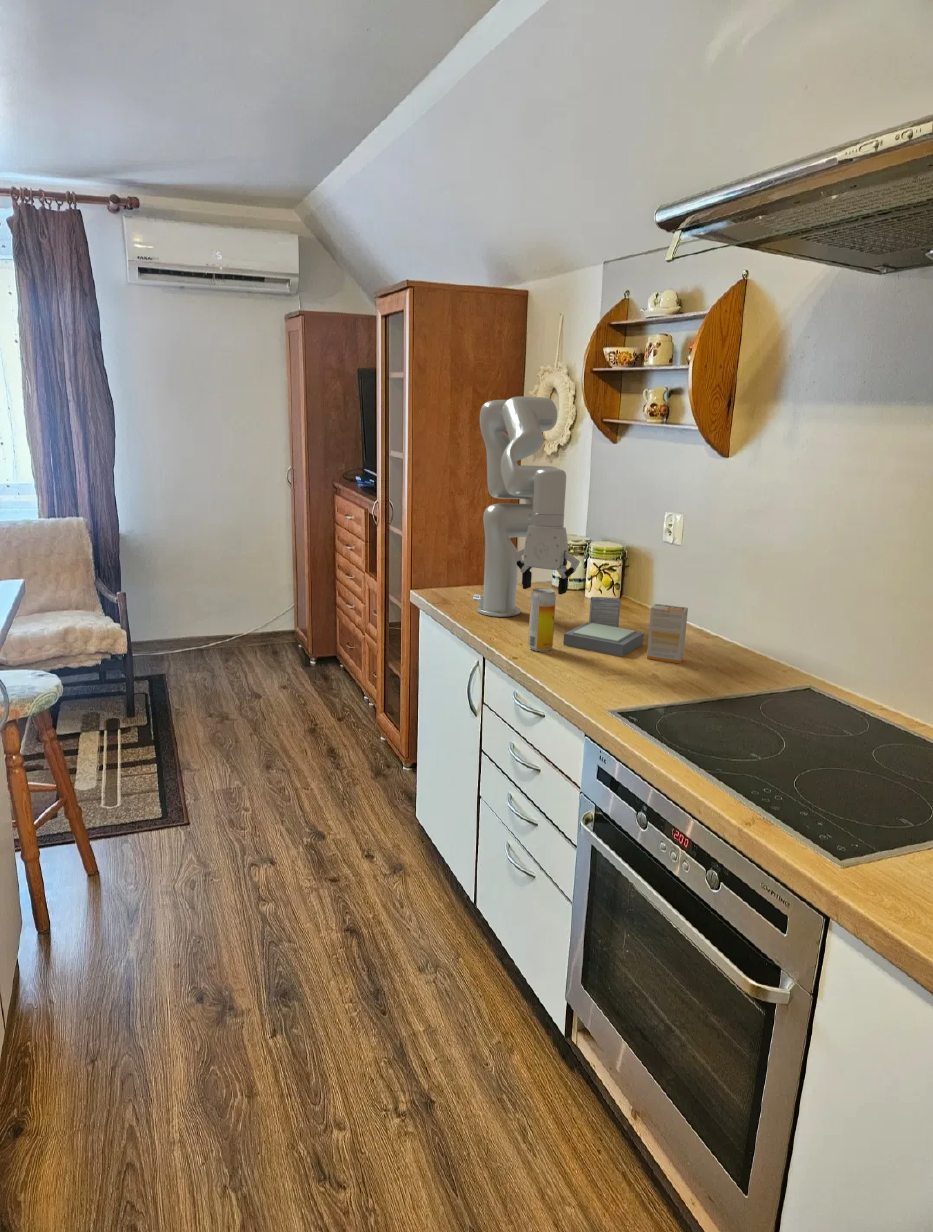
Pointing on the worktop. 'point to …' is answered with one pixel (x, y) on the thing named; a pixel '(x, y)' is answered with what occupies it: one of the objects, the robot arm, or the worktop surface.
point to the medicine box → (605, 611)
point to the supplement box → (667, 633)
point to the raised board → (603, 639)
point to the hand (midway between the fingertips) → (544, 590)
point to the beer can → (541, 619)
